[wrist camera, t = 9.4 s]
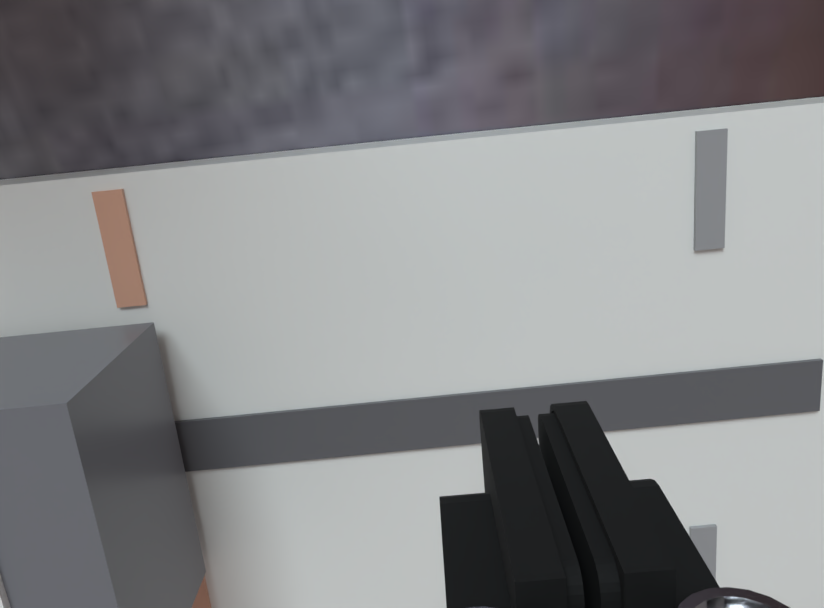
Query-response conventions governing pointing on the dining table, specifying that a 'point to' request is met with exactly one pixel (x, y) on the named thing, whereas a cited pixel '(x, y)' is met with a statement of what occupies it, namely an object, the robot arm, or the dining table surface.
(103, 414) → the fader
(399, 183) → the fader board
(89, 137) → the dining table surface
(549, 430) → the robot arm
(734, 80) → the dining table surface
